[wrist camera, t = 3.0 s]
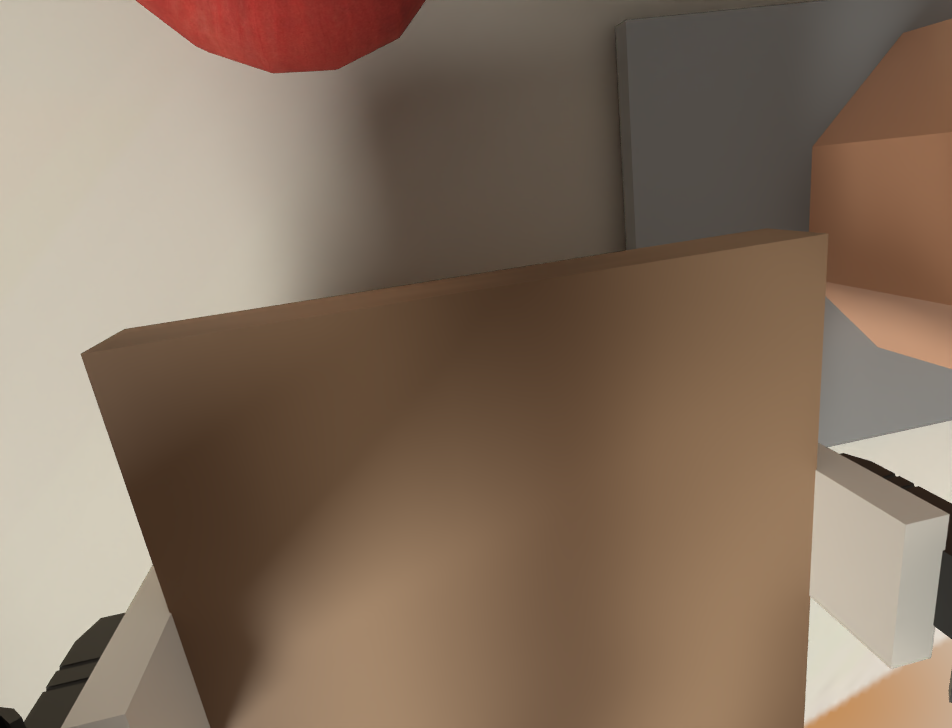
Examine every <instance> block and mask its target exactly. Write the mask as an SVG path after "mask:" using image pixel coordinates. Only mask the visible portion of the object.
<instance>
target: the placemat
mask: <svg viewBox="0 0 952 728" xmlns="http://www.w3.org/2000/svg"><path fill="white" fill-rule="evenodd" d="M949 19H952V0H822V1H812V2H802V3H792V4H782V5H772V6H762V7H752V8H742V9H732V10H722V11H712V12H702V13H692V14H682V15H672V16H662V17H652V18H642V19H632V20H625V21H624V22H622V23H621V24H619V25H618V26H616V27H615V37H616V57H617V76H618V96H619V116H620V135H621V155H622V175H623V194H624V214H625V234H626V250H632V249H638V248H645V247H651V246H657V245H664V244H670V243H676V242H683V241H689V240H696V239H702V238H708V237H715V236H721V235H727V234H734V233H740V232H746V231H753V230H759V229H766V228H769V229H780V230H792V231H804V232H809V218H810V193H811V169H812V147H813V145H814V144H815V143H816V142H817V140H818V139H819V138H820V137H821V135H822V134H823V133H824V132H825V130H826V129H827V128H828V126H829V125H830V124H831V123H832V121H833V120H834V119H835V118H836V116H837V115H838V114H839V113H840V111H841V110H842V109H843V108H844V106H845V105H846V104H847V103H848V101H849V100H850V99H851V98H852V96H853V95H854V94H855V93H856V91H857V90H858V89H859V88H860V86H861V85H862V84H863V83H864V81H865V80H866V79H867V78H868V76H869V75H870V74H871V73H872V71H873V70H874V69H875V67H876V66H877V65H878V64H879V62H880V61H881V60H882V59H883V57H884V56H885V55H886V54H887V52H888V51H889V50H890V49H891V47H892V46H893V45H894V44H895V42H896V41H897V40H898V39H899V37H900V36H901V35H902V34H903V33H905V32H908V31H912V30H915V29H918V28H922V27H925V26H928V25H932V24H935V23H938V22H942V21H945V20H949ZM951 420H952V369H950V368H946V367H943V366H940V365H936V364H933V363H929V362H926V361H923V360H919V359H916V358H913V357H909V356H906V355H903V354H899V353H896V352H892V351H889V350H886V349H882V348H879V347H877V346H876V345H875V344H874V343H873V342H872V341H871V340H870V339H869V338H868V337H867V336H866V335H865V334H864V333H863V332H862V331H861V330H860V329H859V328H858V327H857V326H856V325H855V324H854V323H853V322H852V321H851V320H850V319H849V318H847V317H846V316H845V315H844V314H843V313H842V312H841V311H840V310H839V309H838V308H837V307H836V306H835V305H834V304H833V303H832V302H831V301H830V300H829V299H828V298H827V297H826V296H825V313H824V333H823V353H822V373H821V393H820V412H819V432H818V443H820V444H822V445H824V446H825V447H831V446H835V445H840V444H845V443H849V442H854V441H858V440H863V439H868V438H872V437H877V436H882V435H886V434H891V433H895V432H900V431H905V430H909V429H914V428H918V427H923V426H928V425H932V424H937V423H941V422H946V421H951Z"/></svg>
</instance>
